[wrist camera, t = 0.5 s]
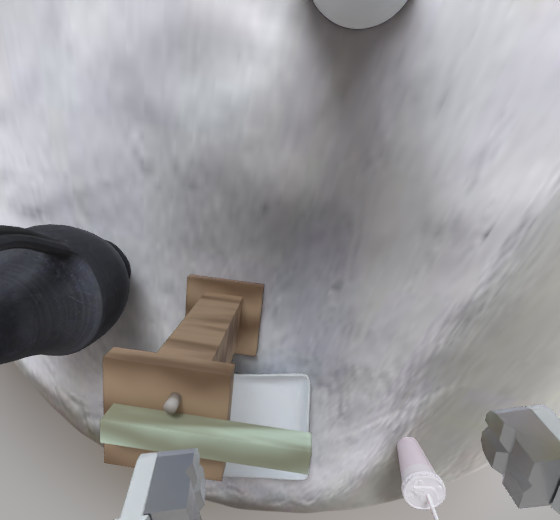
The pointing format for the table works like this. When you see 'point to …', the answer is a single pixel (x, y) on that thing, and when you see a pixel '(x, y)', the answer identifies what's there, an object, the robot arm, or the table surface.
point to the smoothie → (419, 477)
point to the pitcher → (57, 290)
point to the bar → (207, 438)
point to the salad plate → (270, 413)
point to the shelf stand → (188, 362)
